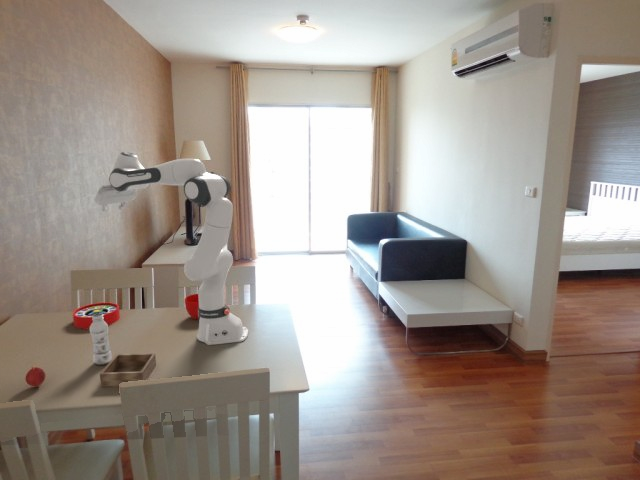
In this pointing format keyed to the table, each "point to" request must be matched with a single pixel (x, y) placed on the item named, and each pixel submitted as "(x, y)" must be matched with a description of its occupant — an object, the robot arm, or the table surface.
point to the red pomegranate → (35, 376)
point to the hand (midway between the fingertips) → (112, 209)
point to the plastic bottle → (100, 340)
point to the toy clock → (85, 313)
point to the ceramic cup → (192, 305)
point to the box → (128, 368)
